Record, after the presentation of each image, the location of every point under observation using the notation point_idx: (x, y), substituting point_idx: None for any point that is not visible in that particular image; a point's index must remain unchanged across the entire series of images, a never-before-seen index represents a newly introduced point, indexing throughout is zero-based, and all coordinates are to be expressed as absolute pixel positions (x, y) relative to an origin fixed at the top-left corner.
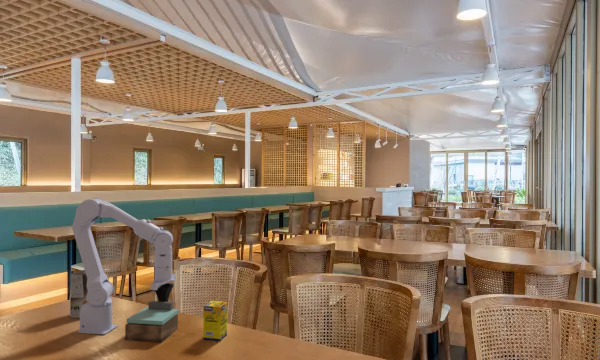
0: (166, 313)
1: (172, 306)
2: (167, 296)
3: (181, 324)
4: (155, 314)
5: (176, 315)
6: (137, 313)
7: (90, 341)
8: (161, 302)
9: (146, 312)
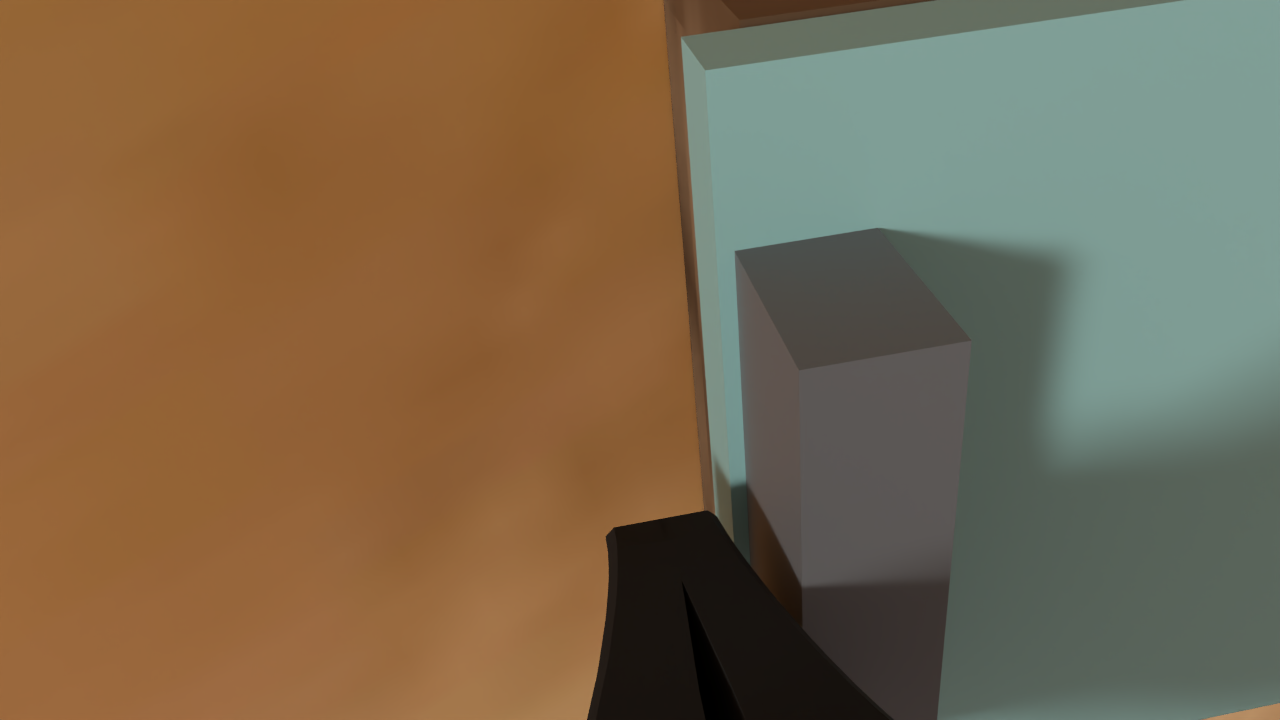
0: (1140, 191)
1: (796, 286)
2: (762, 703)
3: (370, 13)
4: (1213, 393)
5: (829, 6)
6: (1139, 710)
7: (1236, 715)
8: (899, 629)
9: (1073, 623)
